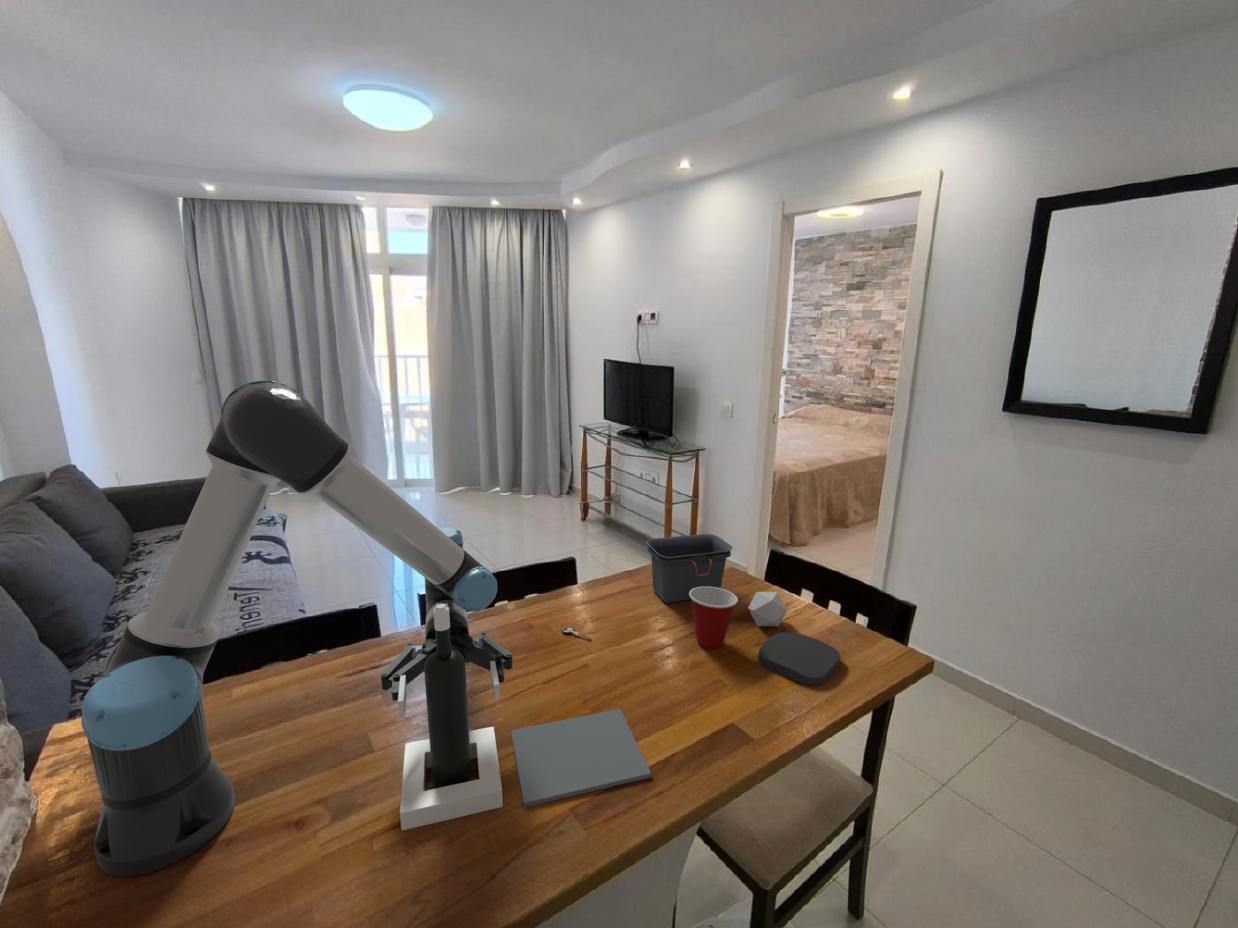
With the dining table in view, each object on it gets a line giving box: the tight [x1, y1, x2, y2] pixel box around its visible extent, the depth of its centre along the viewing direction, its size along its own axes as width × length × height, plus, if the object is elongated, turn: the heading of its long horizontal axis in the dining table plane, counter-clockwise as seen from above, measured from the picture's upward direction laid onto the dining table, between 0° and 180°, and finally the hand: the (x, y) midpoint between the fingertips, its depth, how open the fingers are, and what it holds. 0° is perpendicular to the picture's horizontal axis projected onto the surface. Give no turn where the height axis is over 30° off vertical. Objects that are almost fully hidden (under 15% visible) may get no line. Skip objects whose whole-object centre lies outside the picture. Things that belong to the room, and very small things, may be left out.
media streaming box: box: [758, 631, 841, 687], centre depth 119 cm, size 15×15×3 cm
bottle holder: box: [399, 726, 504, 831], centre depth 86 cm, size 14×14×3 cm
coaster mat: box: [510, 708, 652, 808], centre depth 92 cm, size 20×16×1 cm
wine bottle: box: [423, 603, 472, 789], centre depth 83 cm, size 6×6×30 cm
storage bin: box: [645, 533, 734, 604], centre depth 147 cm, size 21×16×14 cm
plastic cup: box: [689, 586, 739, 650], centre depth 125 cm, size 11×11×12 cm
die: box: [747, 591, 788, 628], centre depth 134 cm, size 8×9×10 cm
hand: (450, 700), depth 82 cm, fingers open, 13 cm apart
